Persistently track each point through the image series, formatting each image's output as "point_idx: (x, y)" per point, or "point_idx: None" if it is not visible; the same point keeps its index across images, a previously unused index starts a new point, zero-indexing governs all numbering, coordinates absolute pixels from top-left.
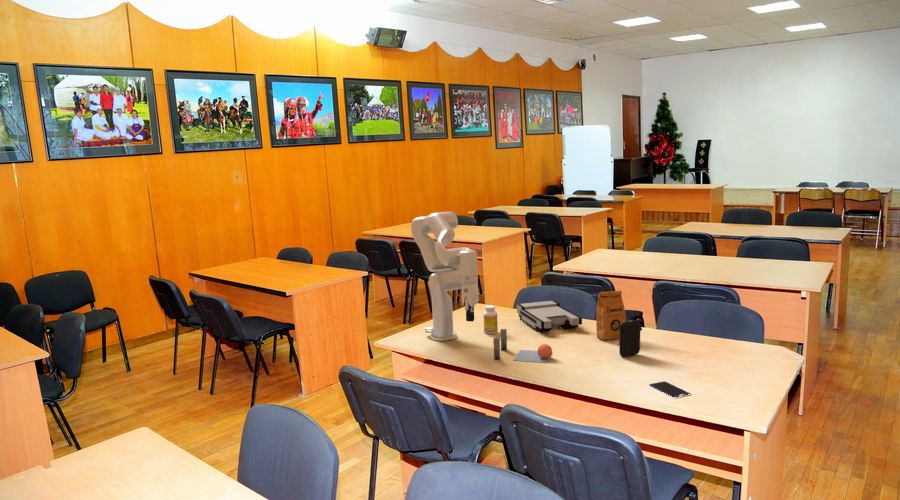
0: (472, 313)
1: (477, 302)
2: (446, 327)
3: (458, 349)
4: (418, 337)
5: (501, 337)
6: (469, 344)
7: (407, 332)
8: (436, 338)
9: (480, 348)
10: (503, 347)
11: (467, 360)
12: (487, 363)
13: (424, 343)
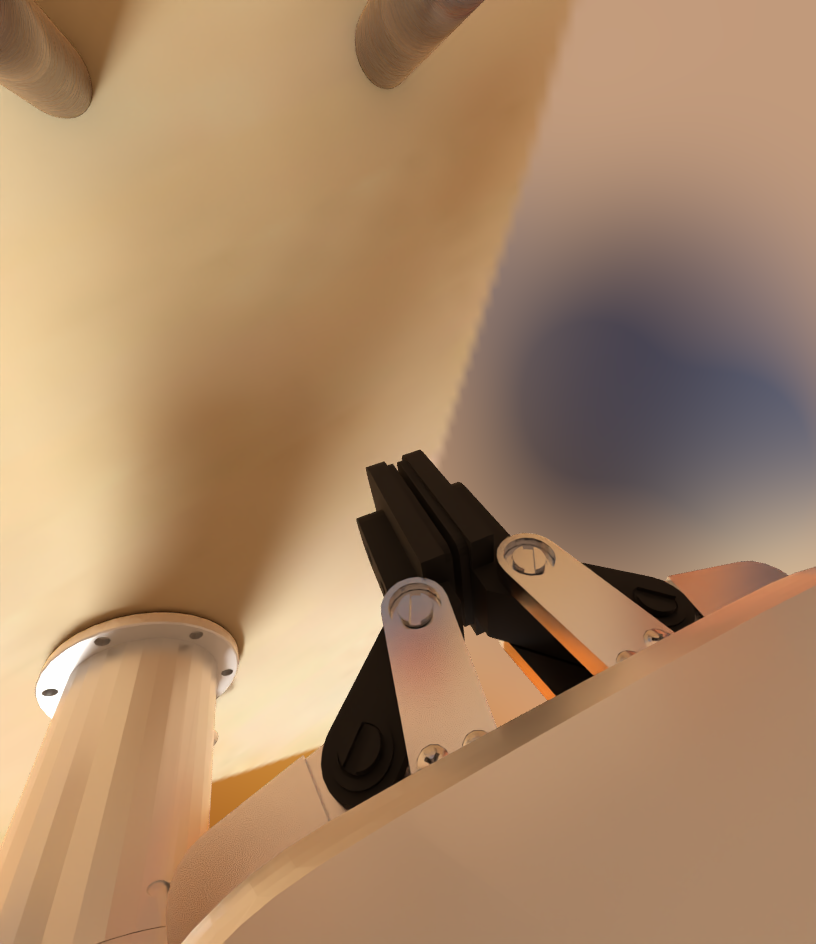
0: (479, 530)
1: (391, 850)
2: (170, 704)
3: (305, 474)
4: (241, 717)
5: (20, 26)
6: (162, 478)
7: None
8: (237, 656)
9: (193, 353)
10: (70, 49)
11: (471, 309)
12: (496, 116)
13: (306, 647)
